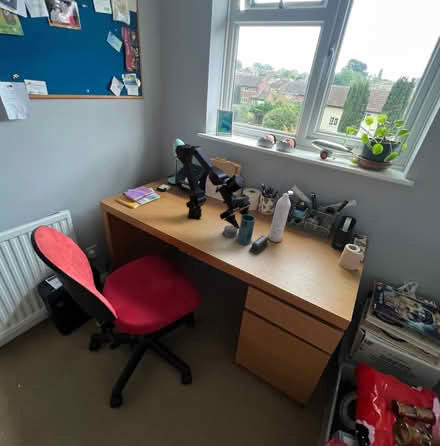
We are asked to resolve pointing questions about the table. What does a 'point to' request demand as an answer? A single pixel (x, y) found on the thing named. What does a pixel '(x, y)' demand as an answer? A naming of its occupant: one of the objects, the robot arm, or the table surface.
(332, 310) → the table surface
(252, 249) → the stapler
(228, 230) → the tape roll
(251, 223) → the pen pot
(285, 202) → the water bottle
